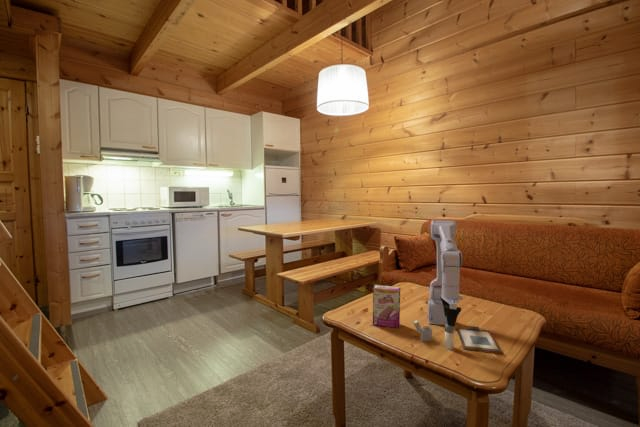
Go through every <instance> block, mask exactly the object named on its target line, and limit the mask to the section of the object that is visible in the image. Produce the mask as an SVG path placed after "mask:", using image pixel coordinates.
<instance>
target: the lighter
mask: <svg viewBox="0 0 640 427" xmlns="http://www.w3.org/2000/svg"><path fill="white" fill-rule="evenodd" d="M412 322H413V324H414V327H415V329H416V330H417V332H418V333H419V340H420V342H431V341H432V340H433V329H432V328H431V327H430V326H428V325H426V326H425V325H423V327H421V325H420V323H419V321H418V320H417V319H415V320H414V321H412Z"/></svg>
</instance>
